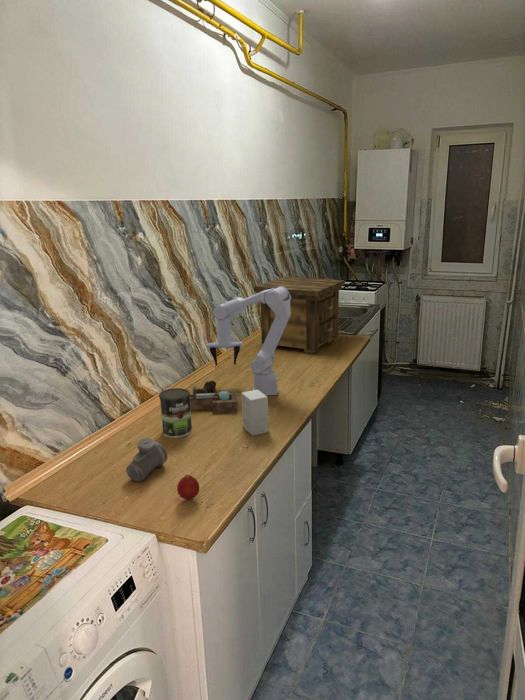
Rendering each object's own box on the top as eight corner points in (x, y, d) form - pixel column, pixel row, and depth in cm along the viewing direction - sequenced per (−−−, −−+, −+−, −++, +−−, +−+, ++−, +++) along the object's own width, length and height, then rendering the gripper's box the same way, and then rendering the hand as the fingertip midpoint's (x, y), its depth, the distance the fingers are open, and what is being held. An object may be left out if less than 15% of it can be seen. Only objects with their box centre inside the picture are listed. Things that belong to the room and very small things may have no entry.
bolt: (214, 392, 216) (202, 405, 202) (204, 385, 216) (191, 398, 202) (221, 381, 214) (209, 393, 200) (210, 374, 214) (198, 386, 200)
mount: (237, 402, 200) (236, 389, 198) (237, 411, 191) (236, 398, 190) (190, 404, 199) (190, 391, 198) (188, 413, 191) (187, 400, 189)
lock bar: (215, 395, 196) (214, 385, 194) (214, 398, 193) (214, 388, 192) (194, 396, 195) (193, 386, 194) (193, 399, 192) (192, 389, 191)
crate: (286, 332, 297) (286, 276, 287) (343, 339, 280) (344, 280, 270) (255, 348, 268) (253, 286, 259) (317, 357, 251) (317, 291, 242)
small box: (269, 432, 175) (268, 396, 171) (252, 436, 172) (250, 400, 168) (258, 423, 182) (257, 388, 178) (242, 426, 179) (241, 392, 175)
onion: (179, 494, 140) (176, 468, 137) (200, 493, 140) (198, 467, 138) (177, 507, 134) (175, 480, 132) (199, 505, 135) (197, 478, 132)
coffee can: (196, 433, 175) (194, 395, 171) (167, 440, 170) (164, 401, 166) (186, 422, 184) (183, 385, 179) (158, 429, 179) (155, 391, 175)
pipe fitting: (147, 458, 158) (144, 430, 154) (169, 465, 155) (166, 437, 151) (122, 481, 148) (118, 452, 144) (145, 489, 145) (142, 460, 141)
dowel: (227, 404, 198) (226, 390, 196) (230, 408, 195) (230, 393, 193) (218, 406, 196) (217, 392, 195) (222, 410, 193) (221, 395, 192)
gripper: (206, 336, 205) (207, 368, 209) (242, 334, 206) (243, 366, 210) (206, 331, 212) (208, 362, 216) (241, 330, 213) (242, 361, 217)
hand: (225, 364), depth 214 cm, fingers open, 7 cm apart
